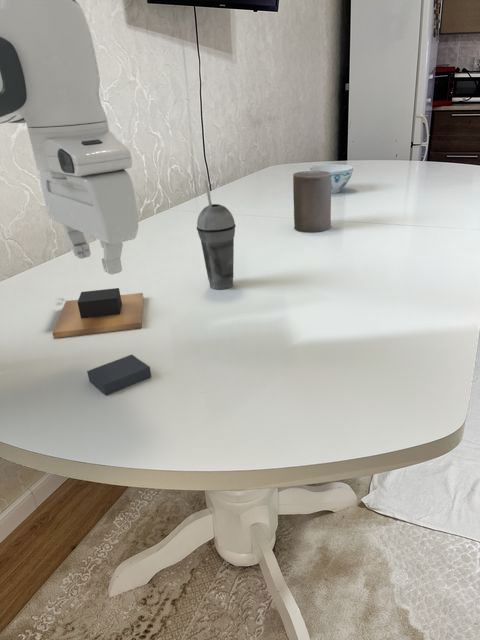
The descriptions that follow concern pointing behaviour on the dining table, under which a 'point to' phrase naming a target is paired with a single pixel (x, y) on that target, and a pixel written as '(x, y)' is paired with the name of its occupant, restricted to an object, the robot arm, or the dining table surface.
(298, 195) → the pillar candle
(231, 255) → the beverage cup
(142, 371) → the pad top
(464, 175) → the dining table surface
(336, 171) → the chinaware
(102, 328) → the cork mat
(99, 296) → the pad bottom
